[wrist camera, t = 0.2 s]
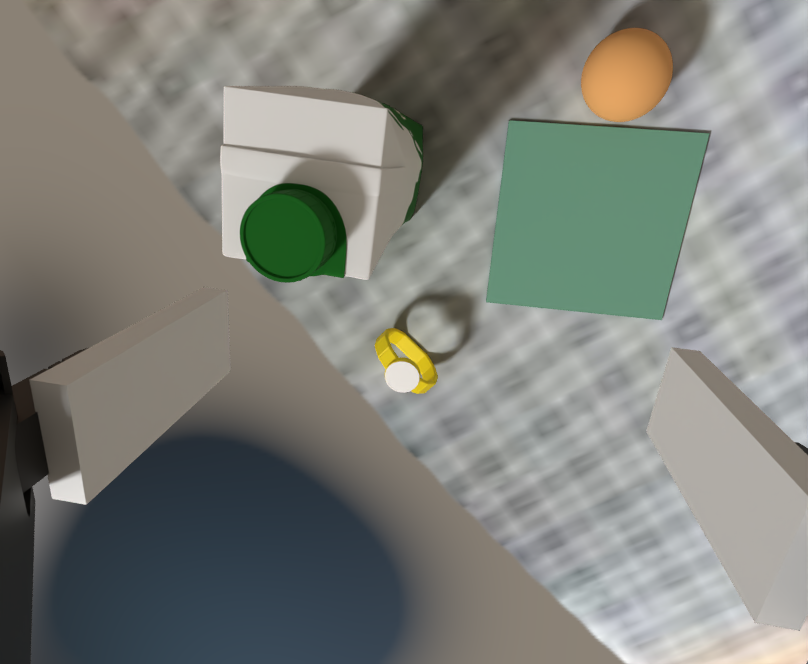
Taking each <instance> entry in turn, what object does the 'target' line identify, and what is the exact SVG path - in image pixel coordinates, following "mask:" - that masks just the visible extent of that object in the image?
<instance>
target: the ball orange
mask: <svg viewBox="0 0 808 664" xmlns="http://www.w3.org/2000/svg"><path fill="white" fill-rule="evenodd" d="M672 73H673V60H672V56H671V52H670V50H669V48H668V46H667V44H666V43H665V41H664V40H663V39H662V38H661V37H660V36H659V35H657V34H656V33H654V32H652V31H650V30H647V29H642V28H628V29H623V30H620V31H617V32H615V33H613V34H611V35H609V36H608V37H606V38H605V39H603V40H602V41H601V42H600V43H599V44H598V45H597V46H596V47H595V48H594V50H593V51H592V52H591V54H590V55H589V57H588V59H587V61H586V63H585V65H584V68H583V72H582V78H581V88H582V94H583V97H584V100H585V102H586V104H587V105H588V107H589V108H590V109H591V111H592V112H594V113H595V114H596V115H597V116H599V117H601V118H603V119H605V120H609V121H614V122H625V121H630V120H634V119H636V118H639V117H641V116H643V115H645V114H646V113H648V112H649V111H651V110H652V109H653V108H654V107H655V106H656V105H657V104H658V103H659V102H660V101H661V99H662V98H663V96H664V95H665V93H666V91H667V90H668V87H669V85H670V82H671V79H672Z"/></svg>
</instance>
